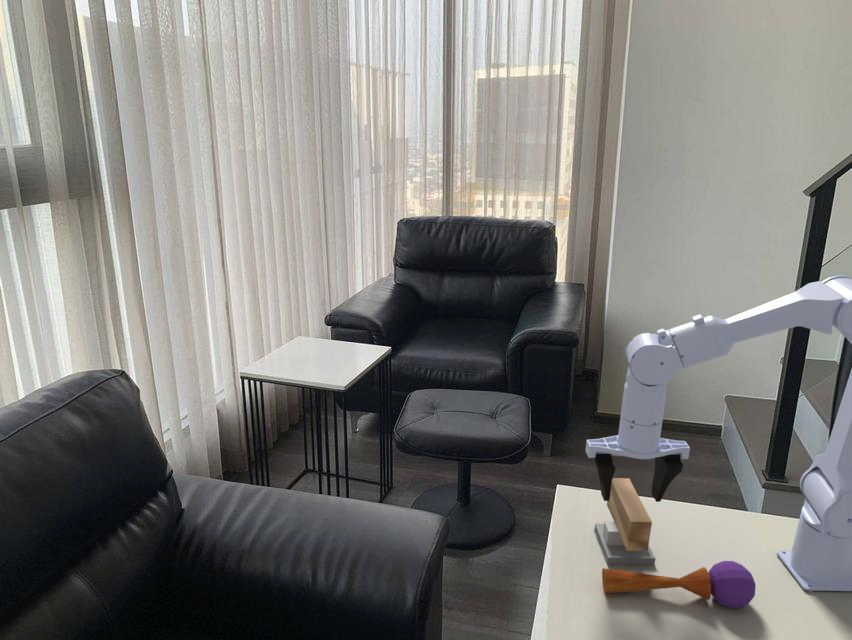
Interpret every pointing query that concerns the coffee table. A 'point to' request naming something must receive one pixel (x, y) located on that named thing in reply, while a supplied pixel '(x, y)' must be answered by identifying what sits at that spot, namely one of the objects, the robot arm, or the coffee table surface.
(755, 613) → the coffee table surface
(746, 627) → the coffee table surface
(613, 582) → the kendama
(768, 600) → the coffee table surface
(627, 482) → the oak bar
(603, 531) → the balance stand
